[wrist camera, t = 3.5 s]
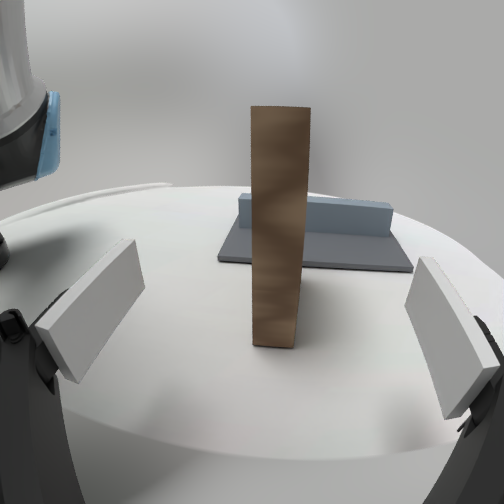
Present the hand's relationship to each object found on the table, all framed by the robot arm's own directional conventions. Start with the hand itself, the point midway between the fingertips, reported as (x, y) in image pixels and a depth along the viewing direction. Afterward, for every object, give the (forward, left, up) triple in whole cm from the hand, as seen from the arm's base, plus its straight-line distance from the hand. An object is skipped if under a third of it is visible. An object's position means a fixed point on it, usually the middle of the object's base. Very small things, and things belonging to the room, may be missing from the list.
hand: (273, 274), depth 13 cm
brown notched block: (0, +9, -9) cm, 13 cm away
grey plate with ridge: (+4, +25, -9) cm, 27 cm away
